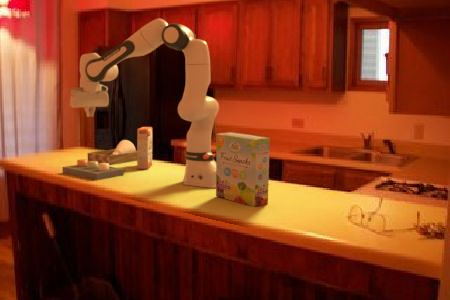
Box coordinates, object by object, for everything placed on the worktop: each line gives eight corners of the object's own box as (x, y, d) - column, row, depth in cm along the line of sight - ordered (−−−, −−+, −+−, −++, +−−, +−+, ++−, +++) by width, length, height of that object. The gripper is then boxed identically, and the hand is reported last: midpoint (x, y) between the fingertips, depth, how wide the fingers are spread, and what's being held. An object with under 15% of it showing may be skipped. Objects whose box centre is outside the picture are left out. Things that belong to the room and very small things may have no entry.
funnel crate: (142, 159, 284) (142, 151, 283) (107, 165, 264) (107, 156, 263) (122, 156, 294) (122, 148, 293) (87, 161, 274) (87, 152, 273)
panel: (123, 175, 238) (123, 169, 238) (97, 180, 226) (97, 173, 225) (89, 168, 254) (89, 162, 253) (62, 173, 241) (62, 167, 241)
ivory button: (111, 172, 235) (111, 163, 235) (103, 174, 231) (102, 165, 231) (104, 171, 238) (104, 162, 238) (96, 173, 234) (95, 163, 234)
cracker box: (148, 169, 254) (148, 129, 251) (136, 169, 254) (136, 129, 251) (153, 165, 267) (152, 126, 264) (141, 164, 268) (141, 126, 265)
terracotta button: (89, 168, 245) (89, 160, 244) (81, 170, 241) (81, 161, 240) (83, 167, 248) (83, 158, 247) (75, 168, 244) (75, 160, 243)
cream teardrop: (108, 146, 268) (126, 136, 283) (97, 158, 273) (114, 147, 289) (123, 162, 268) (139, 151, 284) (111, 174, 274) (127, 162, 289)
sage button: (100, 170, 240) (100, 161, 239) (92, 172, 236) (91, 163, 235) (93, 169, 243) (93, 160, 242) (85, 170, 239) (85, 162, 238)
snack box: (213, 197, 197) (214, 133, 194) (229, 193, 203) (230, 131, 200) (254, 207, 182) (255, 138, 178) (269, 203, 188) (271, 136, 184)
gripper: (75, 87, 224) (75, 118, 226) (110, 87, 240) (110, 116, 242) (66, 87, 228) (67, 117, 230) (102, 87, 244) (102, 115, 246)
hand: (89, 116), depth 236 cm, fingers closed
